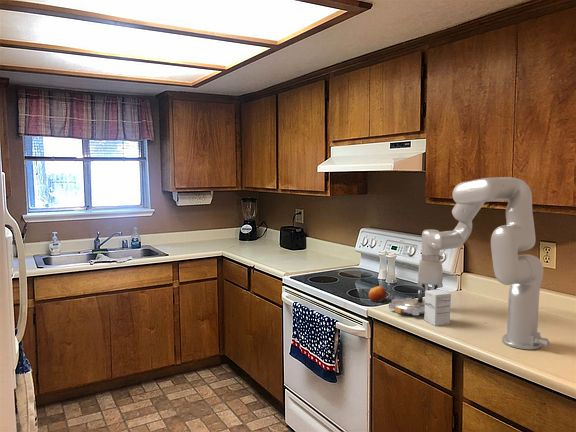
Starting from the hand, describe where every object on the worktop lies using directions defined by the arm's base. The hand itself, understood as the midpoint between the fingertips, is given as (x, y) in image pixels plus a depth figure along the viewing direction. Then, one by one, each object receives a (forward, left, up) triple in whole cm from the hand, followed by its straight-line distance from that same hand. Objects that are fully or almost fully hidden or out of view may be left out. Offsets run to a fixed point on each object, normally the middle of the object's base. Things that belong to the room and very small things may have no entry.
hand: (429, 299), depth 203 cm
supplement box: (-12, +12, -5) cm, 17 cm away
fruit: (+24, +6, -5) cm, 26 cm away
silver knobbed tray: (+3, +8, -3) cm, 9 cm away
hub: (+3, +8, -5) cm, 10 cm away
